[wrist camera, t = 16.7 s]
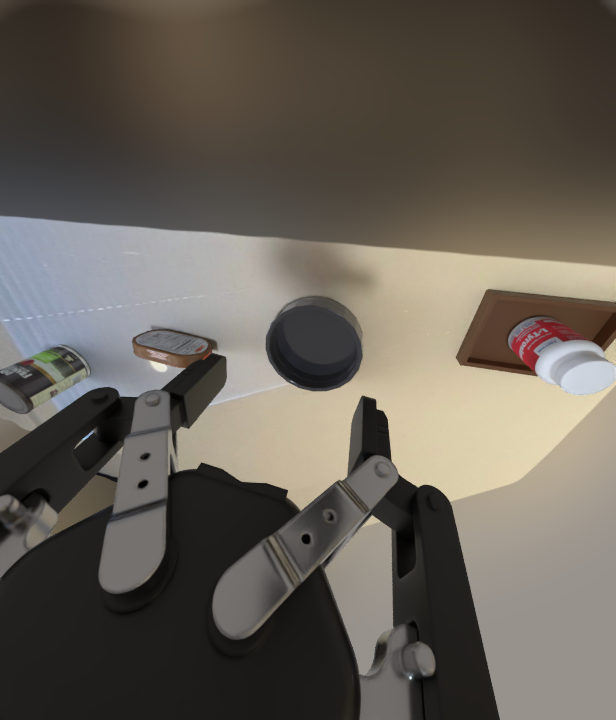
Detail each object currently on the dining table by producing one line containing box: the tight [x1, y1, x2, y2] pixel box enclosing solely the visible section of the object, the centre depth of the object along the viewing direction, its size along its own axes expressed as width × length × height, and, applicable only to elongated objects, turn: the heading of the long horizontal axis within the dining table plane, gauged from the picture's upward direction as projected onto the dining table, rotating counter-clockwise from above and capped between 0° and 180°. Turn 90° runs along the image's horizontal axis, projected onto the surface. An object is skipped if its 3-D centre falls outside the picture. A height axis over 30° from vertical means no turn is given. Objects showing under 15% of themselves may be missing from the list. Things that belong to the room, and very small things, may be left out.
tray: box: [456, 290, 616, 376], centre depth 34 cm, size 16×11×2 cm
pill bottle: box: [508, 316, 616, 395], centre depth 30 cm, size 6×6×11 cm
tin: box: [132, 330, 212, 368], centre depth 46 cm, size 15×3×8 cm, turn 82°
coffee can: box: [0, 345, 90, 414], centre depth 57 cm, size 10×10×14 cm
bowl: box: [266, 297, 363, 391], centre depth 42 cm, size 16×16×4 cm
